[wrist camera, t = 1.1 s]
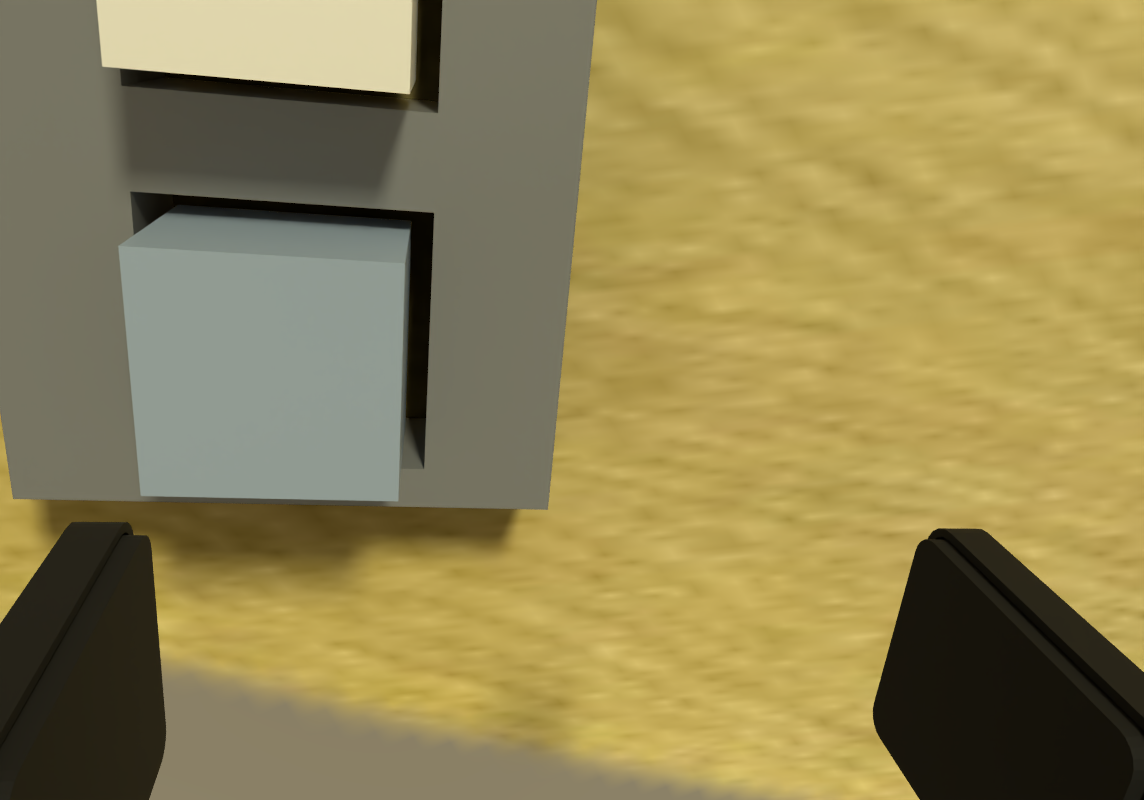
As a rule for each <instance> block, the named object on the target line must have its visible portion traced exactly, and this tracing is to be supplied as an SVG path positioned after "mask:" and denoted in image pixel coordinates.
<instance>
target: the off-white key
mask: <svg viewBox="0 0 1144 800" xmlns="http://www.w3.org/2000/svg"><path fill="white" fill-rule="evenodd" d="M96 2H97V13H98V25H99V36H100V47H101V58H102V67H112V68H124V69H135V70H146V71H157V72H168V73H179V74H191V75H202V76H213V77H224V78H235V79H246V80H257V81H269V82H280V83H291V84H302V85H313V86H324V87H336V88H347V89H358V90H369V91H380V92H391V93H402V94H410V92H411V90H412V88H413V86H414V83H415V81H416V55H417V22H418V0H96Z"/></svg>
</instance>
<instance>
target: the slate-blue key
mask: <svg viewBox="0 0 1144 800" xmlns="http://www.w3.org/2000/svg"><path fill="white" fill-rule="evenodd" d="M411 222H412V221H410V220H396V219H381V218H366V217H352V216H337V215H323V214H308V213H293V212H279V211H264V210H249V209H235V208H220V207H206V206H191V205H177V206H175V207H174V208H172V209H171V210H170V211H168V212H167V213H165V214H164V215H162V216H161V217H159V218H158V219H157V220H155V221H154V222H152V223H151V224H149V225H148V226H146V227H145V228H144V229H142V230H141V231H139V232H138V233H136V234H135V235H133V236H132V237H131V238H129V239H128V240H126V241H125V242H123V243H122V244H120V245H119V246H118V248H119V259H120V270H121V281H122V292H123V304H124V315H125V326H126V337H127V348H128V359H129V371H130V382H131V393H132V404H133V415H134V426H135V438H136V449H137V460H138V471H139V482H140V493H141V496H164V497H212V498H260V499H307V500H355V501H398V500H399V489H400V478H401V467H402V456H403V445H404V434H405V422H406V389H407V355H408V322H409V289H410V255H411Z"/></svg>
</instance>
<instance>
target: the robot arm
mask: <svg viewBox="0 0 1144 800" xmlns="http://www.w3.org/2000/svg"><path fill="white" fill-rule="evenodd" d="M873 720H874V725H875V728H876V732H877V733H878V735H879V737H880V739H881V740H882V742H883V744H884V745H885V747H886V748H887V750H888V751H889V753H890V754H891V756H892V757H893V759H894V761H895V762H896V764H897V765H898V767H899V768H900V770H901V771H902V773H903V774H904V776H905V778H906V779H907V781H908V782H909V784H910V785H911V787H912V788H913V790H914V791H915V793H916V795H917V796H918V798H919V799H920V800H1144V672H1143V671H1142V670H1141V669H1139V668H1138V667H1137V666H1136V665H1135V664H1134V663H1133V662H1132V661H1131V660H1129V659H1128V658H1127V657H1126V656H1125V655H1124V654H1123V653H1122V652H1120V651H1119V650H1118V649H1117V648H1116V647H1115V646H1114V645H1113V644H1112V643H1110V642H1109V641H1108V640H1107V639H1106V638H1105V637H1104V636H1103V635H1101V634H1100V633H1099V632H1098V631H1097V630H1096V629H1095V628H1094V627H1092V626H1091V625H1090V624H1089V623H1088V622H1087V621H1086V620H1085V619H1084V618H1082V617H1081V616H1080V615H1079V614H1078V613H1077V612H1076V611H1075V610H1073V609H1072V608H1071V607H1070V606H1069V605H1068V604H1067V603H1066V602H1065V601H1063V600H1062V599H1061V598H1060V597H1059V596H1058V595H1057V594H1056V593H1054V592H1053V591H1052V590H1051V589H1050V588H1049V587H1048V586H1047V585H1046V584H1044V583H1043V582H1042V581H1041V580H1040V579H1039V578H1038V577H1037V576H1035V575H1034V574H1033V573H1032V572H1031V571H1030V570H1029V569H1028V568H1026V567H1025V566H1024V565H1023V564H1022V563H1021V562H1020V561H1019V560H1018V559H1016V558H1015V557H1014V556H1013V555H1012V554H1011V553H1010V552H1009V551H1007V550H1006V549H1005V548H1004V547H1003V546H1002V545H1001V544H1000V543H999V542H997V541H996V540H995V539H994V538H993V537H992V536H991V535H990V534H988V533H987V532H985V531H984V530H982V529H940V528H939V529H937V530H935V531H933V532H932V533H931V534H930V536H929V537H928V539H925V540H923V541H921V542H920V543H919V545H918V546H917V549H916V551H915V555H914V559H913V562H912V566H911V570H910V573H909V577H908V581H907V584H906V588H905V592H904V595H903V599H902V603H901V606H900V610H899V614H898V617H897V621H896V625H895V628H894V632H893V636H892V639H891V643H890V647H889V650H888V654H887V658H886V661H885V665H884V669H883V672H882V676H881V680H880V683H879V687H878V691H877V694H876V698H875V702H874V707H873ZM165 741H166V722H165V710H164V697H163V685H162V672H161V660H160V648H159V636H158V623H157V611H156V599H155V587H154V574H153V562H152V550H151V543H150V540H149V537H148V536H145V535H133V530H132V528H131V525H130V524H129V523H128V522H72V523H71V524H70V525H69V526H68V527H67V528H66V529H65V531H64V532H63V534H62V535H61V537H60V538H59V540H58V541H57V542H56V544H55V545H54V547H53V548H52V550H51V551H50V553H49V554H48V555H47V557H46V558H45V560H44V561H43V563H42V564H41V566H40V567H39V569H38V570H37V571H36V573H35V574H34V576H33V577H32V579H31V580H30V582H29V583H28V584H27V586H26V587H25V589H24V590H23V592H22V593H21V595H20V596H19V597H18V599H17V600H16V602H15V603H14V605H13V606H12V608H11V609H10V611H9V612H8V613H7V615H6V616H5V618H4V619H3V621H2V622H1V624H0V800H149V798H150V795H151V792H152V789H153V786H154V783H155V780H156V777H157V774H158V771H159V768H160V765H161V762H162V759H163V754H164V749H165Z"/></svg>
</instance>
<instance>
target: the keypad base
mask: <svg viewBox="0 0 1144 800" xmlns="http://www.w3.org/2000/svg"><path fill="white" fill-rule="evenodd" d="M596 4H597V0H443V2H442V28H441V53H440V79H439V102H438V101H427V100H415V99H404V98H393V97H382V96H370V95H359V94H348V93H337V92H325V91H314V90H303V89H292V88H280V87H269V86H258V85H247V84H235V83H224V82H213V81H202V80H190V79H179V78H168V77H165V72H157V71H146V70H135V69H124V68H112V67H102V58H101V47H100V36H99V25H98V13H97V2H96V0H0V413H1V420H2V427H3V434H4V440H5V447H6V454H7V461H8V467H9V474H10V481H11V488H12V495H13V499H46V500H96V501H145V502H195V503H245V504H294V505H344V506H394V507H444V508H493V509H543V510H548V502H549V492H550V481H551V471H552V461H553V450H554V440H555V430H556V419H557V409H558V398H559V388H560V378H561V367H562V357H563V347H564V336H565V326H566V315H567V305H568V295H569V284H570V274H571V264H572V253H573V243H574V232H575V222H576V212H577V201H578V191H579V181H580V170H581V160H582V150H583V139H584V129H585V118H586V108H587V98H588V87H589V77H590V67H591V56H592V46H593V35H594V25H595V15H596ZM173 194H174V195H188V196H203V197H217V198H231V199H246V200H260V201H274V202H288V203H303V204H317V205H331V206H346V207H360V208H374V209H389V210H403V211H417V212H431V213H434V232H433V258H432V284H431V309H430V335H429V360H428V386H427V412H426V418H406V422H405V434H404V445H403V456H402V467H401V478H400V489H399V500H398V501H355V500H307V499H260V498H212V497H164V496H141V493H140V482H139V471H138V460H137V449H136V438H135V426H134V415H133V404H132V393H131V382H130V371H129V359H128V348H127V337H126V326H125V315H124V304H123V292H122V281H121V270H120V259H119V248H118V246H119V245H120V244H122V243H123V242H125V241H126V240H128V239H129V238H131V237H132V236H133V235H135V234H136V233H138V232H139V231H141V230H142V229H144V228H145V227H146V226H148V225H149V224H151V223H152V222H154V221H155V220H157V219H158V218H159V217H161V216H162V215H164V214H165V213H167V212H168V211H170V210H171V209H172V208H174V207H173Z"/></svg>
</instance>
